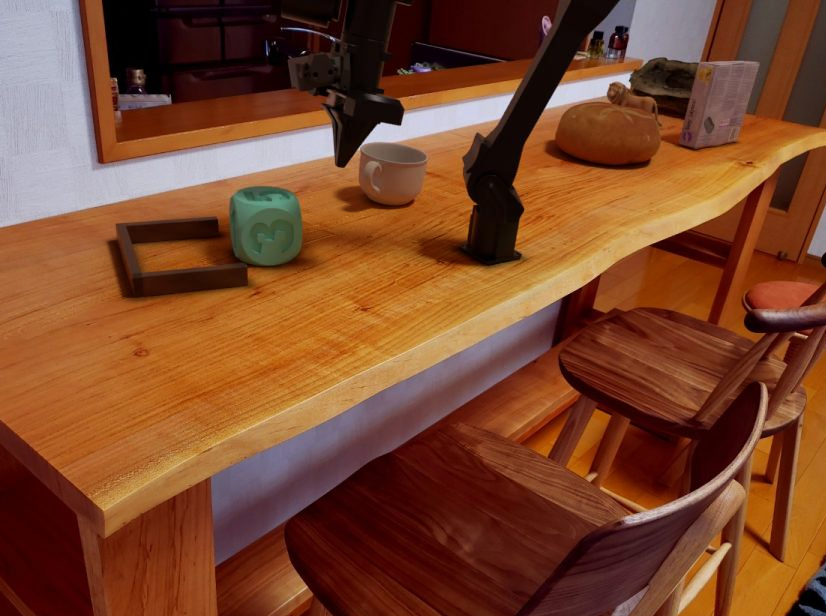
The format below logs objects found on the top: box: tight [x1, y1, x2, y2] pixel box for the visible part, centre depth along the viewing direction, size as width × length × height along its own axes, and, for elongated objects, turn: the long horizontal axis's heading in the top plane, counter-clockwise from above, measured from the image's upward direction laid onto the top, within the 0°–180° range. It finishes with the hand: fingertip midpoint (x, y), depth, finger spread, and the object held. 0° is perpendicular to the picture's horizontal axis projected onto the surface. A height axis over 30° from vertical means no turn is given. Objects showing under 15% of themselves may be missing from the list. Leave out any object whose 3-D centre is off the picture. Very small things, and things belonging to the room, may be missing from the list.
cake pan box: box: [678, 60, 761, 150], centre depth 167 cm, size 19×5×18 cm, turn 128°
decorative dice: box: [228, 185, 304, 267], centre depth 97 cm, size 8×8×8 cm
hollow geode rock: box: [628, 56, 699, 115], centre depth 196 cm, size 28×13×15 cm
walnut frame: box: [114, 215, 249, 298], centre depth 94 cm, size 13×17×2 cm
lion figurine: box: [606, 81, 663, 128], centre depth 181 cm, size 15×5×9 cm, turn 62°
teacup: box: [358, 141, 429, 206], centre depth 118 cm, size 14×11×8 cm
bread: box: [554, 101, 662, 166], centre depth 153 cm, size 23×23×10 cm
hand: (339, 167), depth 96 cm, fingers closed
